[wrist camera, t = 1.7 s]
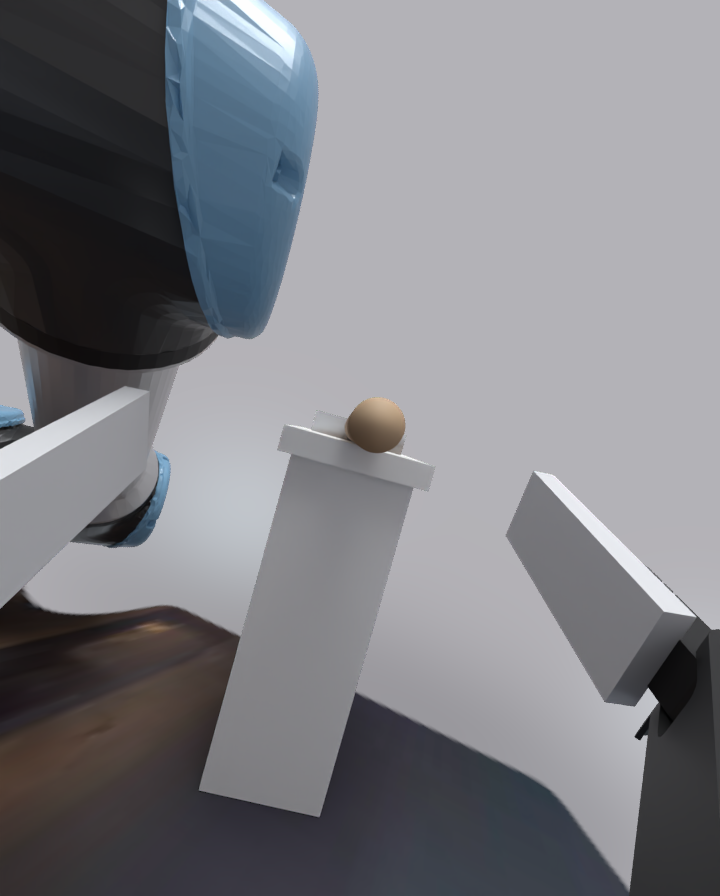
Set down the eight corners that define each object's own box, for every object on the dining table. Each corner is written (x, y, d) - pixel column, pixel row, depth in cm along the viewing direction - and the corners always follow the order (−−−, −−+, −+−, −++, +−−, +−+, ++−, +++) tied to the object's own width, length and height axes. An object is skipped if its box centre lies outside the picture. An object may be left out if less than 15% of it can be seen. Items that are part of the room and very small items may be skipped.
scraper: (449, 474, 23) (464, 421, 23) (288, 429, 22) (303, 375, 22) (393, 452, 46) (401, 426, 46) (313, 430, 45) (321, 403, 45)
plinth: (331, 831, 33) (435, 466, 32) (181, 798, 32) (284, 424, 32) (333, 712, 47) (406, 455, 46) (228, 687, 46) (300, 426, 46)
